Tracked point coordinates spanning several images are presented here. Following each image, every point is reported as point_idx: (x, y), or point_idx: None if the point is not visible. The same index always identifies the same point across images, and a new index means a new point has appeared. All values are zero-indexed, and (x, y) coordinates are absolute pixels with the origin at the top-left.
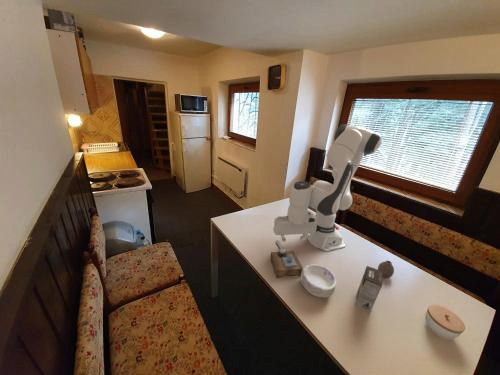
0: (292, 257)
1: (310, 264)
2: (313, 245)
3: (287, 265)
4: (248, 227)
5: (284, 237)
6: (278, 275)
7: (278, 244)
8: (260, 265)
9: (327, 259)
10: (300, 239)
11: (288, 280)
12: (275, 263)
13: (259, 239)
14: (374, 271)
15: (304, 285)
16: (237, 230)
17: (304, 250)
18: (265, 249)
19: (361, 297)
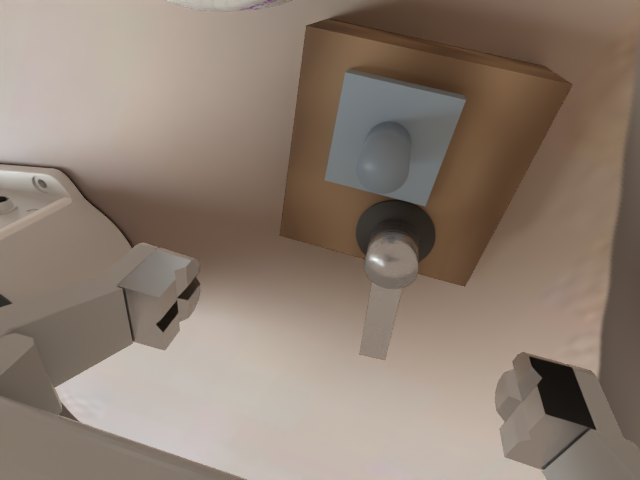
0: (334, 172)
1: (214, 4)
2: (122, 237)
3: (442, 98)
4: (428, 461)
5: (535, 448)
6: (533, 67)
7: (389, 322)
8: (571, 222)
9: (70, 106)
10: (196, 284)
11: (460, 3)
12: (520, 170)
13: (421, 385)
14: None
15: None
16: (503, 470)
17: (193, 225)
18: (435, 318)
19: None
